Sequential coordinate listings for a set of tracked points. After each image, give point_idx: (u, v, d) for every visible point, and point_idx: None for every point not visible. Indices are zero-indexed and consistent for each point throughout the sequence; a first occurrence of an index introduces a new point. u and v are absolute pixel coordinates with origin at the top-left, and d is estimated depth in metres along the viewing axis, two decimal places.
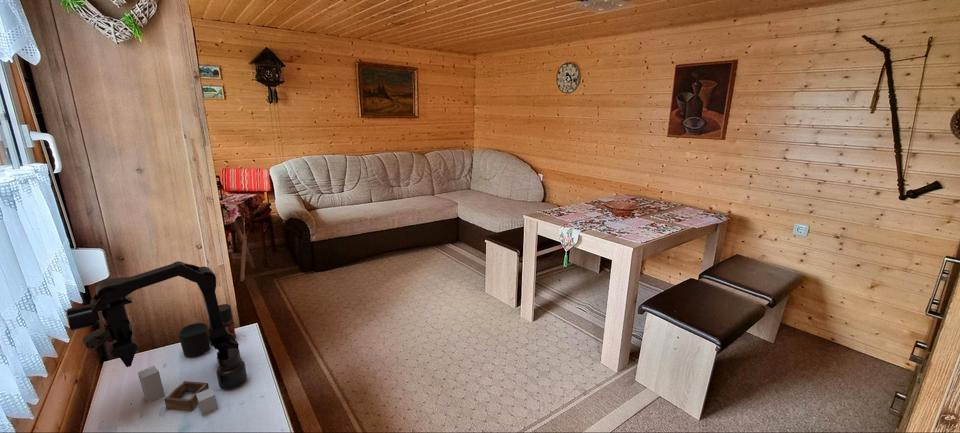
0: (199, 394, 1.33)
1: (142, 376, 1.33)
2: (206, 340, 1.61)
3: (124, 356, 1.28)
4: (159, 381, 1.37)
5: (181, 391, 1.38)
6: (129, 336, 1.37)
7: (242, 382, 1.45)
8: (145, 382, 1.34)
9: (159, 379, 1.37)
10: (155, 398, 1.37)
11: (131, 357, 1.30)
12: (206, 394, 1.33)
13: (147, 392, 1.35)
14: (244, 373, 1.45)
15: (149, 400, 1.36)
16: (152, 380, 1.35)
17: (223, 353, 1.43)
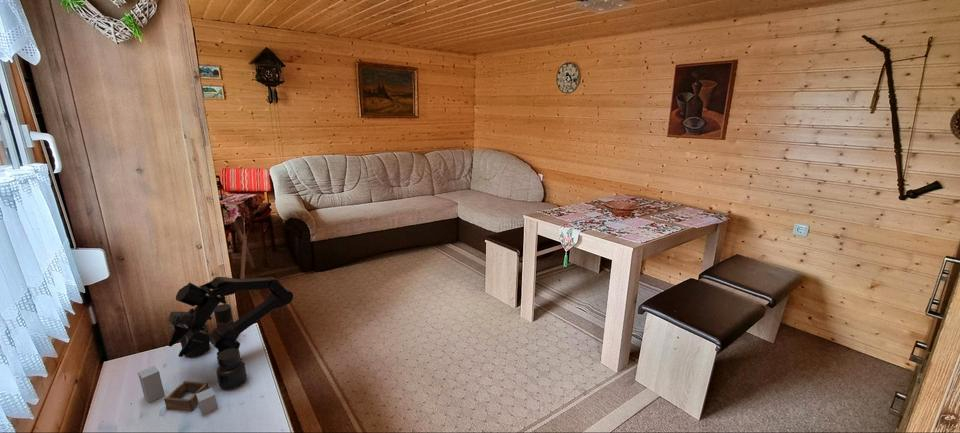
0: (199, 394, 1.33)
1: (142, 376, 1.33)
2: None
3: (189, 344, 1.39)
4: (159, 381, 1.37)
5: (181, 391, 1.38)
6: (184, 332, 1.47)
7: (242, 382, 1.45)
8: (145, 382, 1.34)
9: (159, 379, 1.37)
10: (155, 398, 1.37)
11: (191, 348, 1.40)
12: (206, 394, 1.33)
13: (147, 392, 1.35)
14: (244, 373, 1.45)
15: (149, 400, 1.36)
16: (152, 380, 1.35)
17: (223, 353, 1.43)
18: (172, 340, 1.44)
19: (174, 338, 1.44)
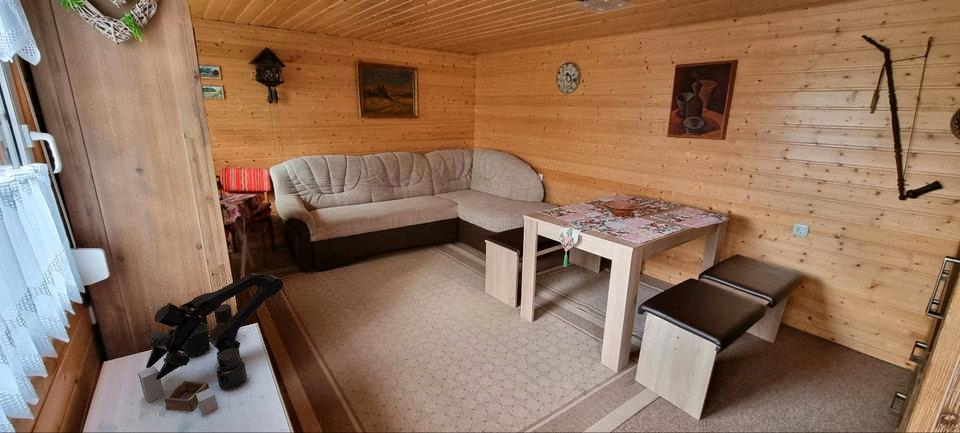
0: (199, 394, 1.33)
1: (142, 376, 1.33)
2: (206, 340, 1.61)
3: (167, 367, 1.35)
4: (159, 381, 1.37)
5: (181, 391, 1.38)
6: (163, 353, 1.43)
7: (242, 382, 1.45)
8: (145, 382, 1.34)
9: (159, 379, 1.37)
10: (155, 398, 1.37)
11: (169, 371, 1.35)
12: (206, 394, 1.33)
13: (147, 392, 1.35)
14: (244, 373, 1.45)
15: (149, 400, 1.36)
16: (151, 381, 1.35)
17: (223, 353, 1.43)
18: (150, 361, 1.39)
19: (152, 360, 1.40)
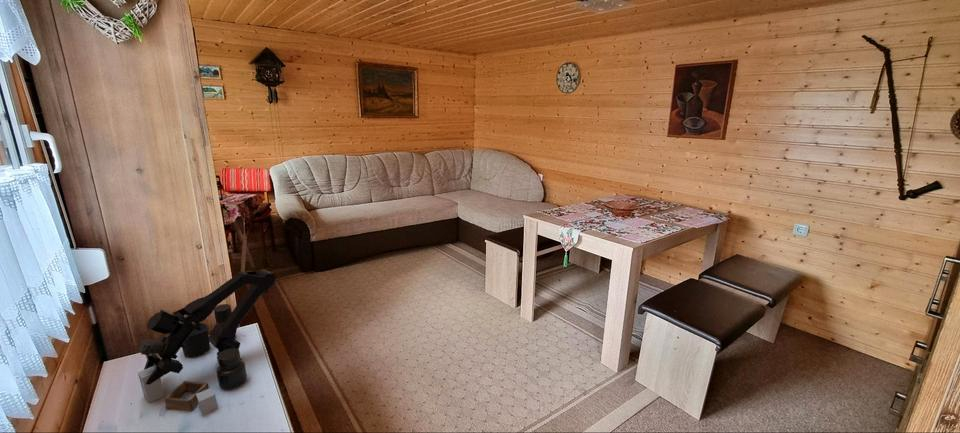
0: (199, 394, 1.33)
1: (142, 376, 1.33)
2: (206, 340, 1.61)
3: (157, 372, 1.35)
4: (159, 381, 1.37)
5: (181, 391, 1.38)
6: (159, 363, 1.40)
7: (242, 382, 1.45)
8: (145, 382, 1.34)
9: (159, 379, 1.37)
10: (155, 398, 1.37)
11: (159, 376, 1.35)
12: (206, 394, 1.33)
13: (147, 392, 1.35)
14: (244, 373, 1.45)
15: (149, 400, 1.36)
16: None
17: (223, 353, 1.43)
18: None
19: None
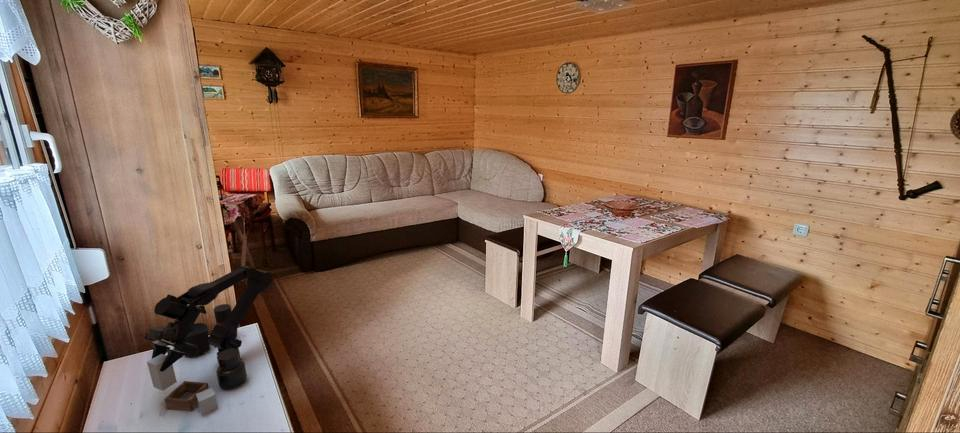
0: (199, 394, 1.33)
1: (155, 363, 1.30)
2: (206, 340, 1.61)
3: (171, 357, 1.32)
4: (171, 367, 1.34)
5: (181, 391, 1.38)
6: (166, 351, 1.37)
7: (242, 382, 1.45)
8: (159, 369, 1.30)
9: (171, 365, 1.34)
10: (168, 385, 1.34)
11: (173, 361, 1.33)
12: (206, 394, 1.33)
13: (161, 379, 1.31)
14: (244, 373, 1.45)
15: (163, 388, 1.32)
16: None
17: (223, 353, 1.43)
18: None
19: None
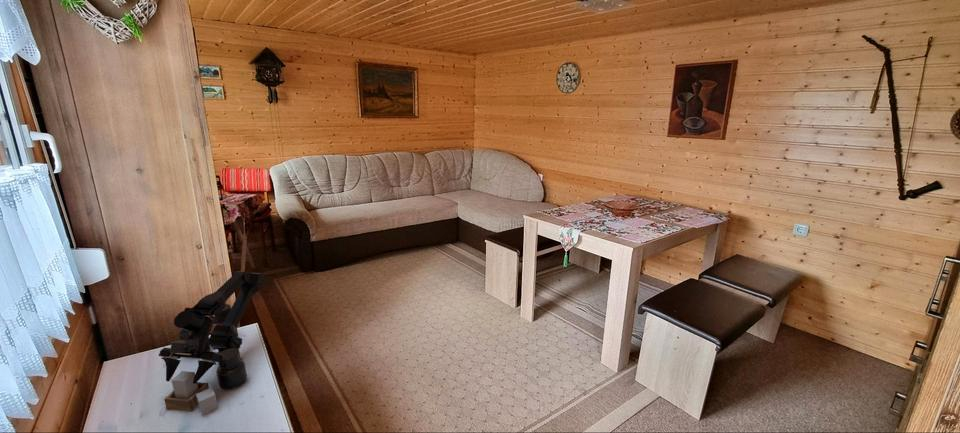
0: (199, 394, 1.33)
1: (182, 380, 1.32)
2: None
3: (202, 368, 1.35)
4: None
5: None
6: (177, 364, 1.38)
7: (242, 382, 1.45)
8: (187, 385, 1.33)
9: None
10: None
11: (204, 372, 1.36)
12: (206, 394, 1.33)
13: (188, 395, 1.34)
14: (244, 373, 1.45)
15: None
16: (190, 382, 1.35)
17: (223, 353, 1.43)
18: (169, 374, 1.34)
19: (170, 372, 1.35)
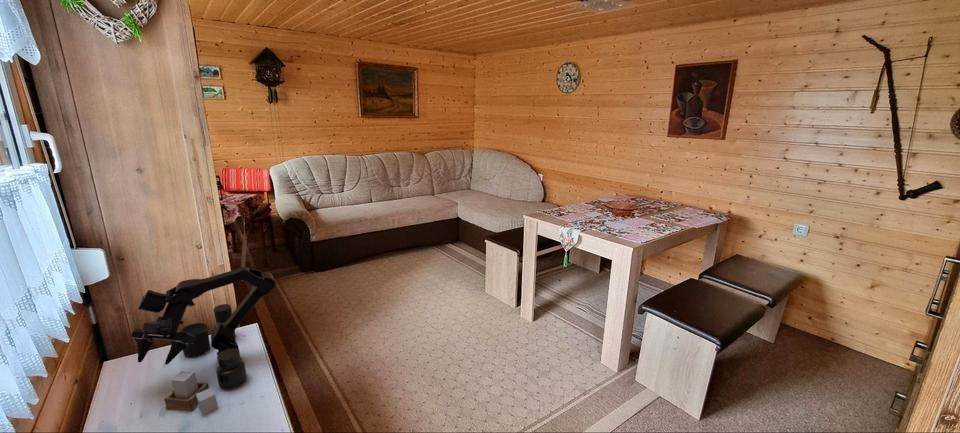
0: (199, 394, 1.33)
1: (182, 380, 1.32)
2: (206, 340, 1.61)
3: (174, 349, 1.35)
4: (195, 382, 1.37)
5: None
6: (150, 346, 1.38)
7: (242, 382, 1.45)
8: (187, 385, 1.33)
9: (195, 380, 1.37)
10: None
11: (176, 354, 1.36)
12: (206, 394, 1.33)
13: (188, 395, 1.34)
14: (244, 373, 1.45)
15: None
16: (190, 382, 1.35)
17: (223, 353, 1.43)
18: (141, 355, 1.34)
19: (142, 353, 1.35)
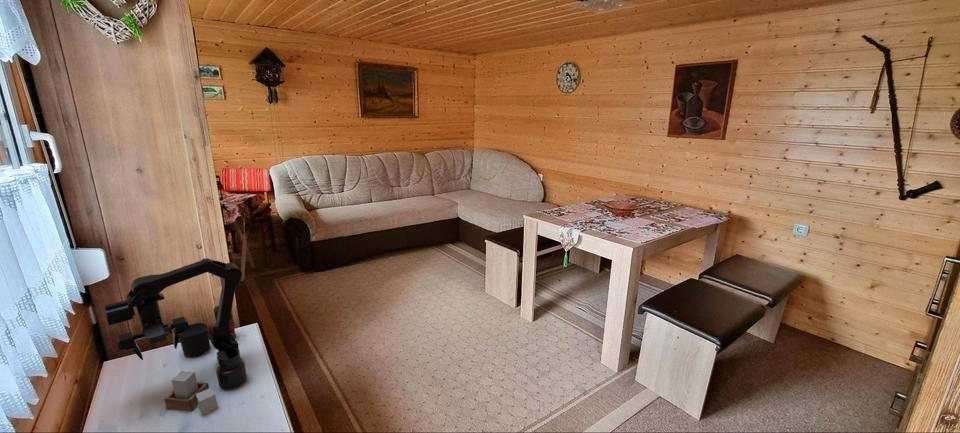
0: (199, 394, 1.33)
1: (182, 380, 1.32)
2: (206, 340, 1.61)
3: None
4: (195, 382, 1.37)
5: None
6: (136, 343, 1.36)
7: (242, 382, 1.45)
8: (187, 385, 1.33)
9: (195, 380, 1.37)
10: None
11: None
12: (206, 394, 1.33)
13: (188, 395, 1.34)
14: (244, 373, 1.45)
15: None
16: (190, 382, 1.35)
17: (223, 353, 1.43)
18: (141, 354, 1.36)
19: (140, 352, 1.36)
